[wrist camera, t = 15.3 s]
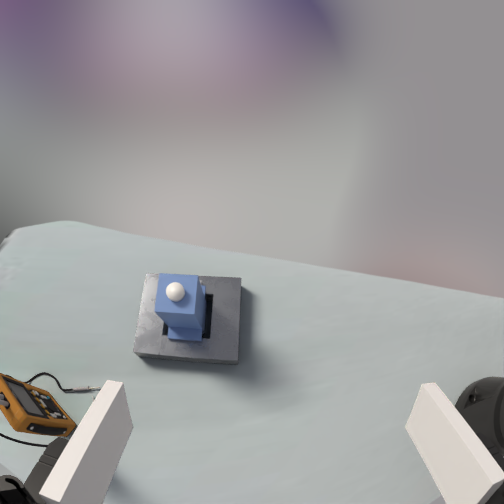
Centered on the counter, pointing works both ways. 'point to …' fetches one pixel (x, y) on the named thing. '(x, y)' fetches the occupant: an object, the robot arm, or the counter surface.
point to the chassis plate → (208, 350)
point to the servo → (181, 306)
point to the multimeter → (33, 409)
